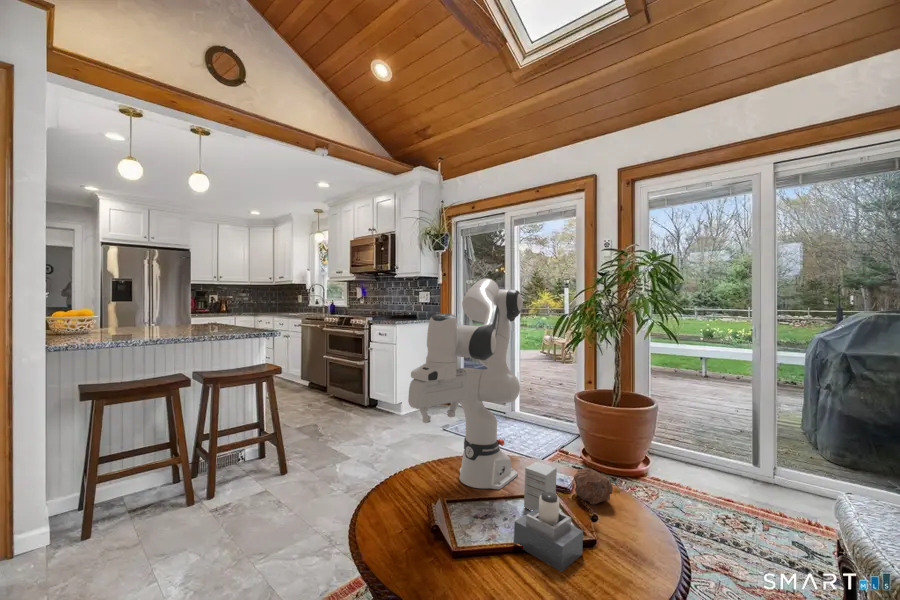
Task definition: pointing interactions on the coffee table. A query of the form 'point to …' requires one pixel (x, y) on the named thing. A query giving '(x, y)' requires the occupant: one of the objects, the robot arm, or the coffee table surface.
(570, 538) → the grey socket block
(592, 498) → the decorative rock
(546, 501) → the cream cylinder
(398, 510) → the coffee table surface
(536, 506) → the supplement box
